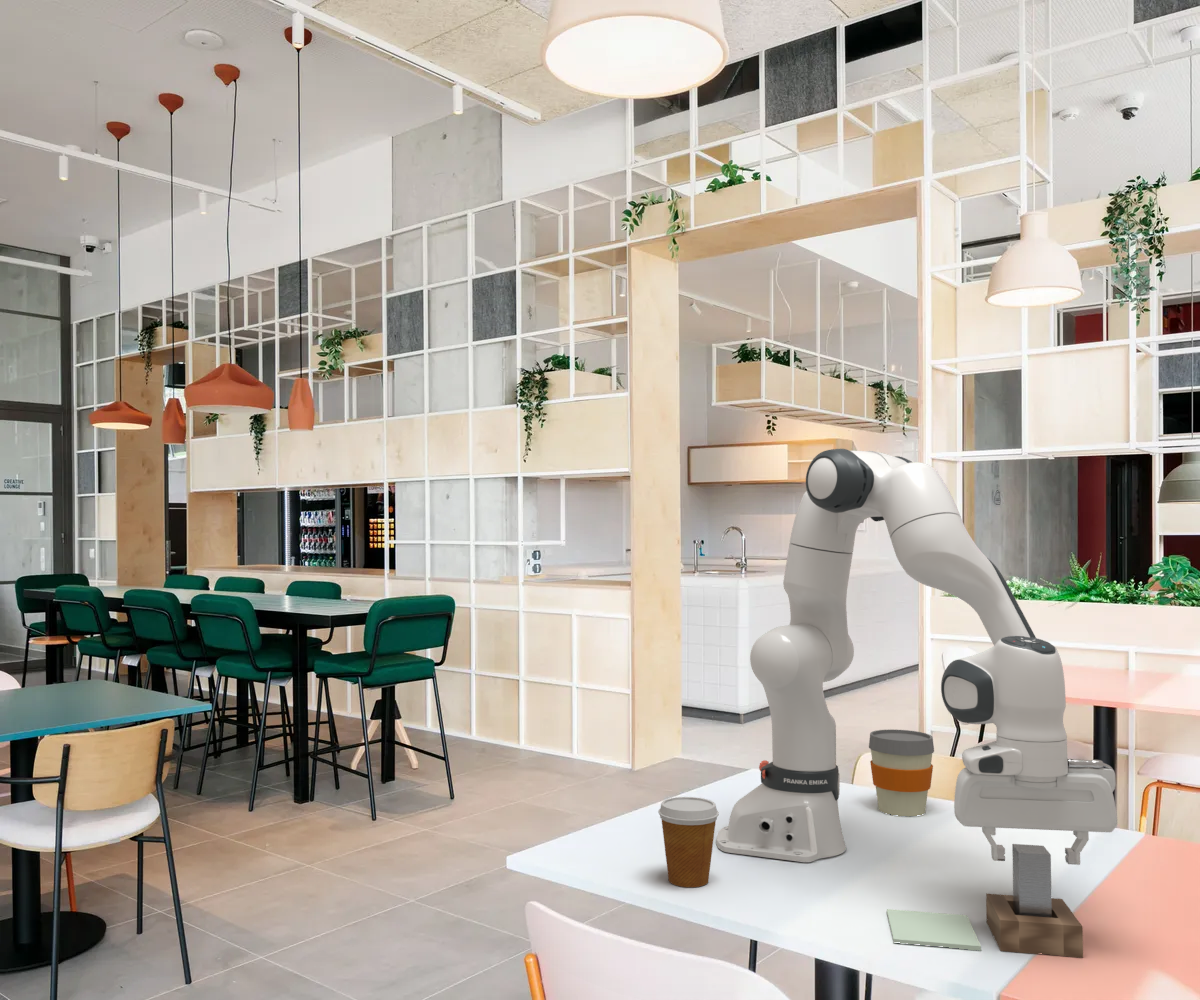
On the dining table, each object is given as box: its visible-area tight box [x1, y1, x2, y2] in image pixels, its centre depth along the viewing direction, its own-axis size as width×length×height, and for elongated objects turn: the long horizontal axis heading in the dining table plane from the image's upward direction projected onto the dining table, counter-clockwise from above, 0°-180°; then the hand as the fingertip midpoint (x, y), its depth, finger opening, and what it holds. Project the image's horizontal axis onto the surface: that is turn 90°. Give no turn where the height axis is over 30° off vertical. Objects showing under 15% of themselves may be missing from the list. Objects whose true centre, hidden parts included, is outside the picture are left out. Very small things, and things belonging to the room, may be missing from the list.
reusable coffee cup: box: [868, 729, 935, 817], centre depth 196 cm, size 13×12×15 cm
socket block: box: [985, 893, 1084, 959], centre depth 132 cm, size 10×10×4 cm
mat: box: [886, 908, 982, 952], centre depth 135 cm, size 11×11×1 cm
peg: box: [1011, 843, 1052, 918], centre depth 133 cm, size 4×4×12 cm
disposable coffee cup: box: [657, 796, 720, 888], centre depth 155 cm, size 10×10×12 cm
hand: (1035, 861), depth 132 cm, fingers open, 8 cm apart
